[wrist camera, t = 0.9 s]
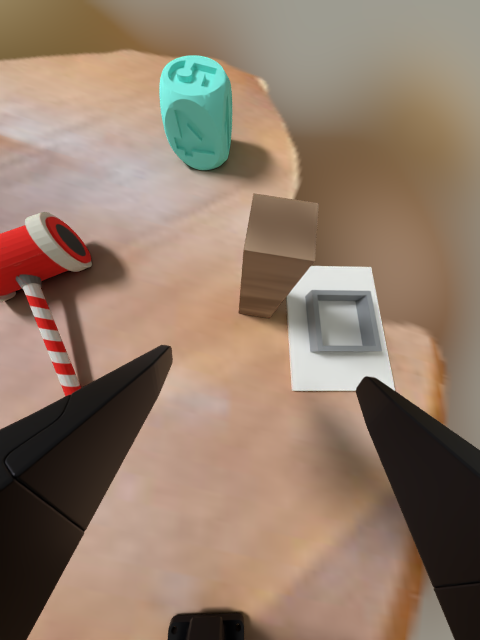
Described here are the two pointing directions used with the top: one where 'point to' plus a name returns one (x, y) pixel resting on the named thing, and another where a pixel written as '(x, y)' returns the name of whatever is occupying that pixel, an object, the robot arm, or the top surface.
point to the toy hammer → (42, 277)
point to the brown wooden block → (276, 251)
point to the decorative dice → (197, 110)
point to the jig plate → (336, 330)
